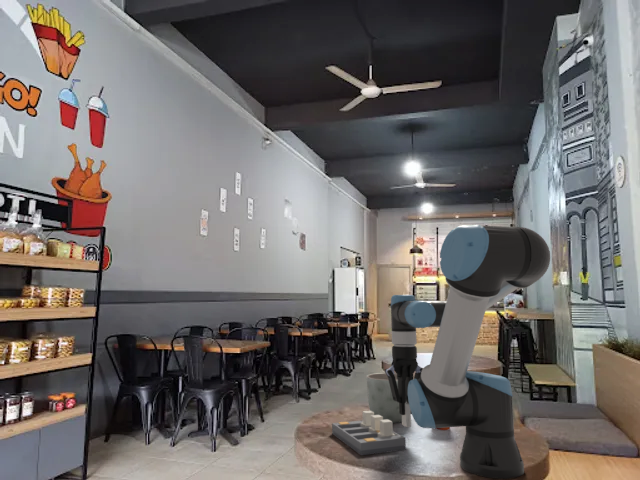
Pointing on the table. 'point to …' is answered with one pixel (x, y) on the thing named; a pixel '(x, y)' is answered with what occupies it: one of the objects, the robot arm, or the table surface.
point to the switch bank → (366, 438)
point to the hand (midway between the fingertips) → (406, 425)
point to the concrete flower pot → (382, 397)
